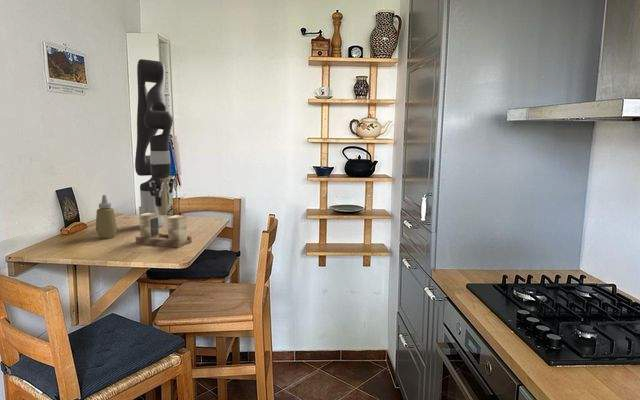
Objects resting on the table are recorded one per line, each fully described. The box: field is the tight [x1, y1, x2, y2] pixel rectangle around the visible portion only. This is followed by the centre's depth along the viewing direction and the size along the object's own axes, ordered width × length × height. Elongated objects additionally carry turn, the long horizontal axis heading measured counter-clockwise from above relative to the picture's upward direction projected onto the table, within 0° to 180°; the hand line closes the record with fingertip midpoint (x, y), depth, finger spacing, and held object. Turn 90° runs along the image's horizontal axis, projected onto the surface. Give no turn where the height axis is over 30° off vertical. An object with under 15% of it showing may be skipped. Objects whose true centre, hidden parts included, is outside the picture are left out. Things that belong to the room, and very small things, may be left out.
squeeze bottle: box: [95, 194, 118, 239], centre depth 183 cm, size 8×8×18 cm
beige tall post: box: [157, 176, 171, 217], centre depth 174 cm, size 5×6×15 cm
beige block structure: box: [134, 213, 192, 249], centre depth 177 cm, size 20×9×11 cm, turn 73°
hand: (162, 205), depth 175 cm, fingers closed on beige tall post, 4 cm apart
